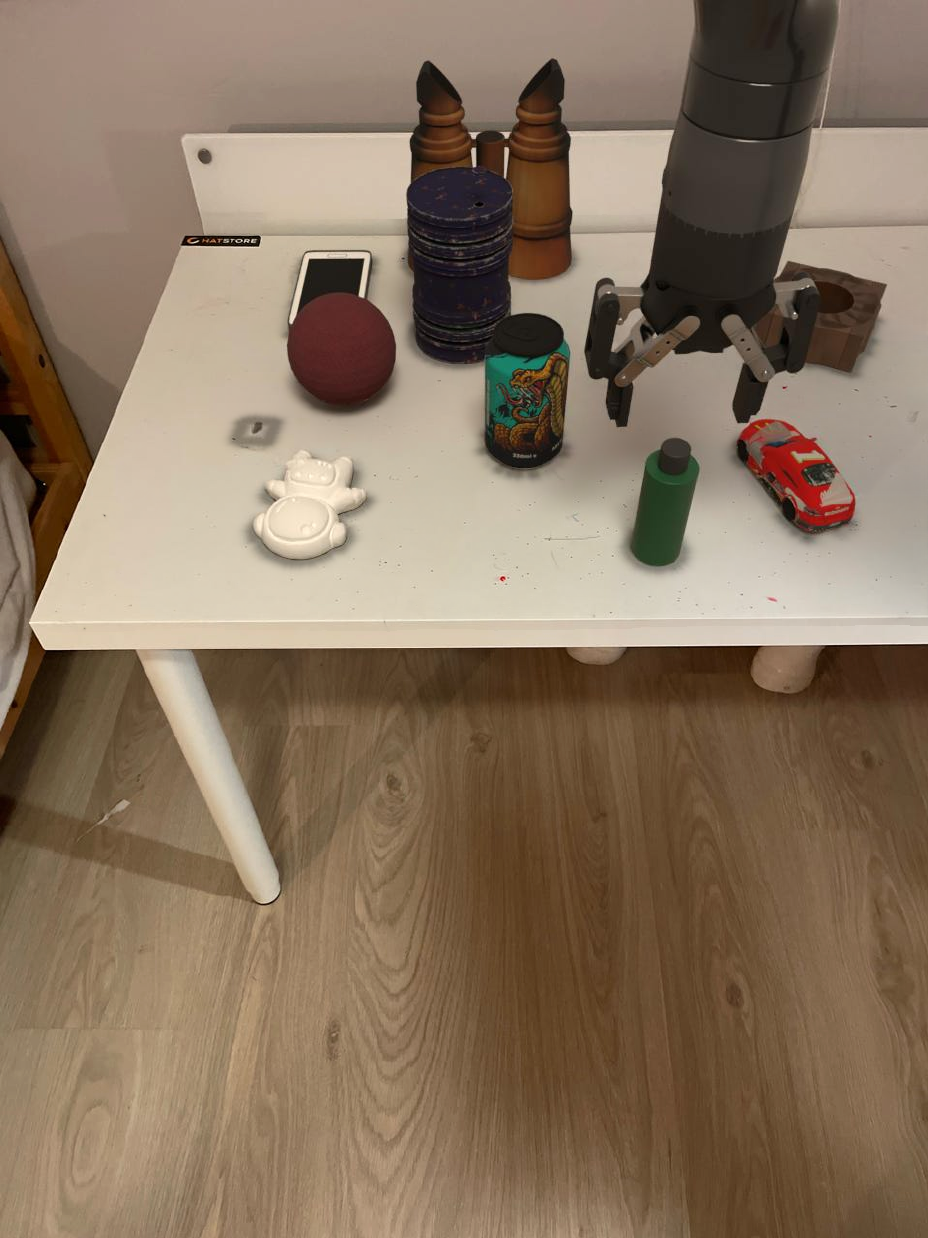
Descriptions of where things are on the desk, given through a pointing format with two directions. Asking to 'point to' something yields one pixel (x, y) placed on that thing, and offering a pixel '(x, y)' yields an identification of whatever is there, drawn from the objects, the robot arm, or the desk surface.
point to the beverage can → (526, 390)
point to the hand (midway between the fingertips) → (679, 417)
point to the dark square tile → (256, 427)
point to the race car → (797, 475)
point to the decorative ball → (341, 349)
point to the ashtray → (831, 315)
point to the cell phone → (330, 276)
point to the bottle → (664, 503)
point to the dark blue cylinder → (459, 259)
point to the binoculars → (530, 167)
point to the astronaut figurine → (308, 507)
